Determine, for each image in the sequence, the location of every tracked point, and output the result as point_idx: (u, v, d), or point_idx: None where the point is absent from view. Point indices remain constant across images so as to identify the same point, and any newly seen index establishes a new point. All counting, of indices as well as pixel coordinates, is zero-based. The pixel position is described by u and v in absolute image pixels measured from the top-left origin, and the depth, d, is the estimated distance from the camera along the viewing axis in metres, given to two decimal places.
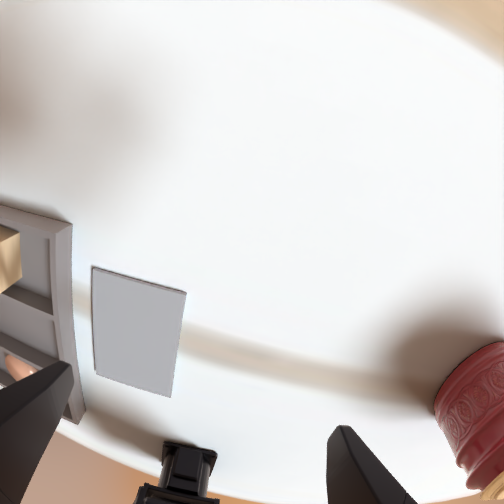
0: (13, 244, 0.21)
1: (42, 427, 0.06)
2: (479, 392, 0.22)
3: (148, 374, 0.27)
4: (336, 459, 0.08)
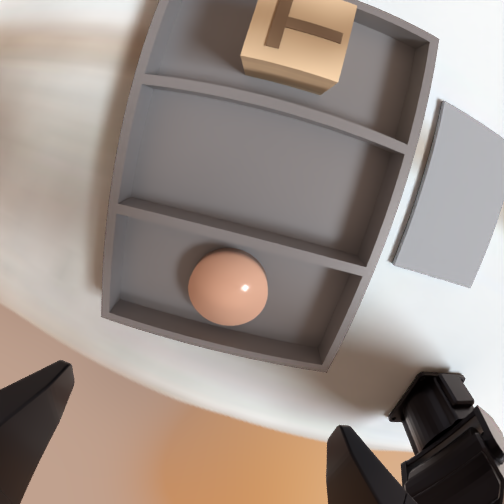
0: None
1: (42, 427, 0.06)
2: None
3: (463, 252, 0.19)
4: (336, 459, 0.08)
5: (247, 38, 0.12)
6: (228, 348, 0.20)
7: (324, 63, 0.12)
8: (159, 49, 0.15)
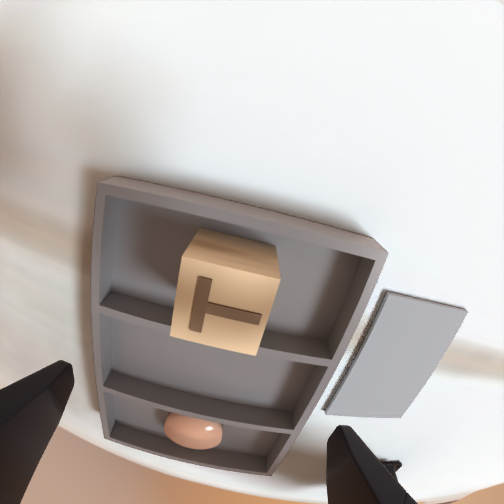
0: None
1: (42, 427, 0.06)
2: None
3: (393, 399, 0.23)
4: (336, 459, 0.08)
5: (173, 322, 0.15)
6: (197, 462, 0.24)
7: (243, 342, 0.15)
8: (106, 272, 0.18)
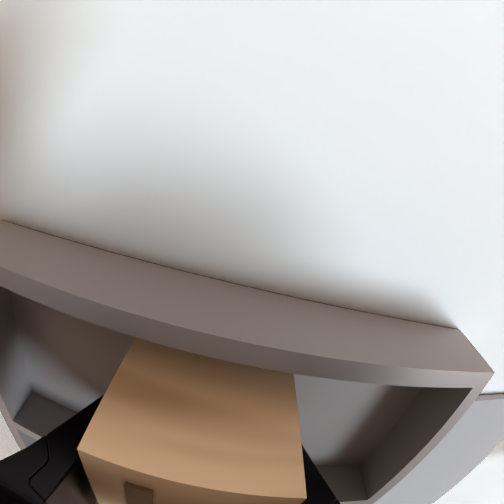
0: None
1: None
2: None
3: (429, 493, 0.13)
4: None
5: None
6: None
7: None
8: (13, 375, 0.09)
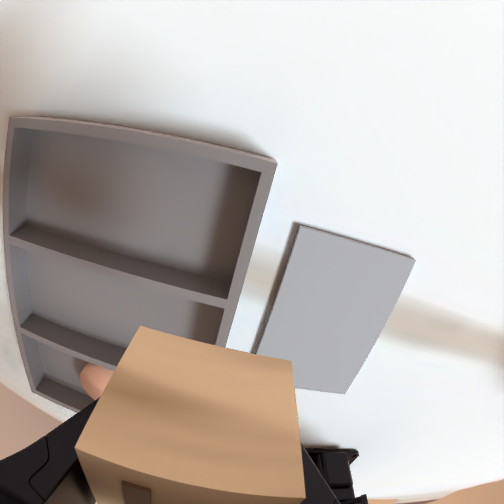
0: None
1: None
2: None
3: (330, 368, 0.21)
4: None
5: None
6: None
7: None
8: (18, 204, 0.16)
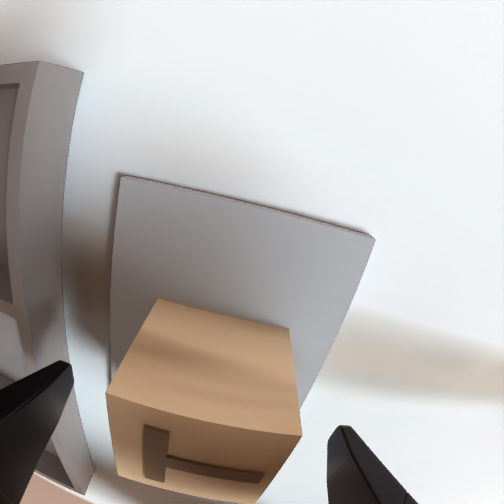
0: None
1: (41, 427, 0.06)
2: None
3: None
4: (337, 459, 0.08)
5: (118, 465, 0.07)
6: None
7: (233, 494, 0.07)
8: None
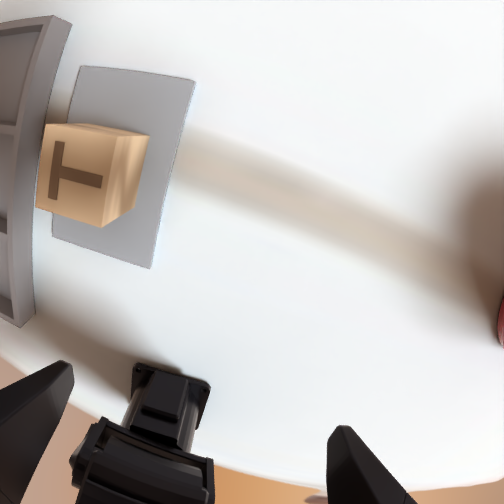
0: (140, 149, 0.16)
1: (42, 427, 0.06)
2: None
3: (122, 224, 0.19)
4: (336, 459, 0.08)
5: (37, 191, 0.13)
6: None
7: (89, 210, 0.14)
8: None
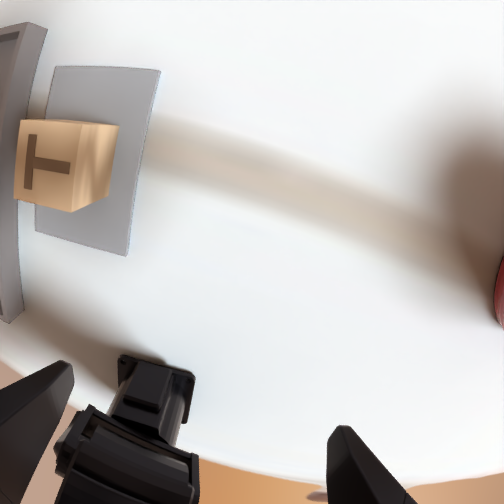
0: (110, 138, 0.16)
1: (42, 427, 0.06)
2: None
3: (97, 213, 0.19)
4: (336, 459, 0.08)
5: (14, 183, 0.13)
6: None
7: (60, 196, 0.14)
8: None
